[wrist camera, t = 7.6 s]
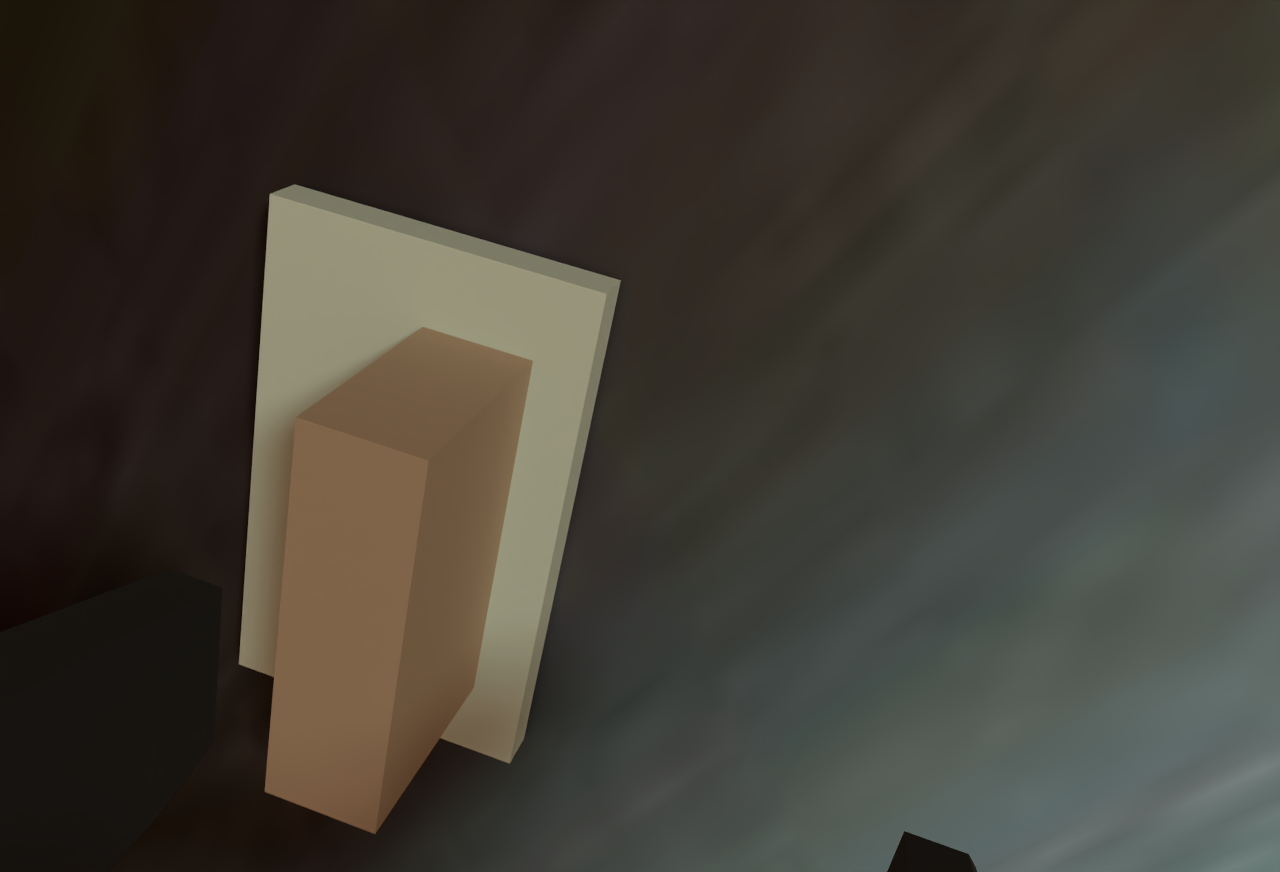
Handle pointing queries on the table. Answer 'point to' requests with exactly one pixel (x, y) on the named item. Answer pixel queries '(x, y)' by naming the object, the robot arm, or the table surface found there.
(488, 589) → the stub
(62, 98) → the table surface
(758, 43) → the table surface
